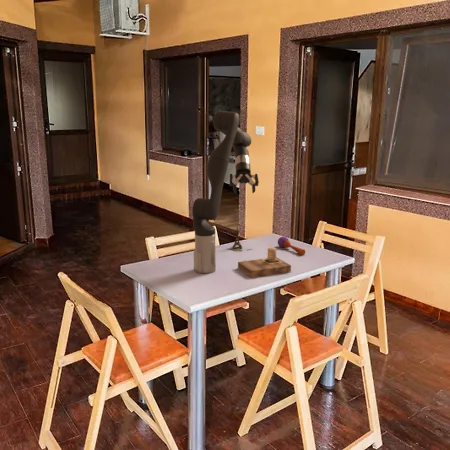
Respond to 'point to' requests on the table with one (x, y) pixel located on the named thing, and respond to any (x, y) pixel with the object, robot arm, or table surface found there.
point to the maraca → (289, 245)
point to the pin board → (263, 267)
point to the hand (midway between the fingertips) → (244, 192)
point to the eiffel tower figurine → (237, 244)
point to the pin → (271, 255)
